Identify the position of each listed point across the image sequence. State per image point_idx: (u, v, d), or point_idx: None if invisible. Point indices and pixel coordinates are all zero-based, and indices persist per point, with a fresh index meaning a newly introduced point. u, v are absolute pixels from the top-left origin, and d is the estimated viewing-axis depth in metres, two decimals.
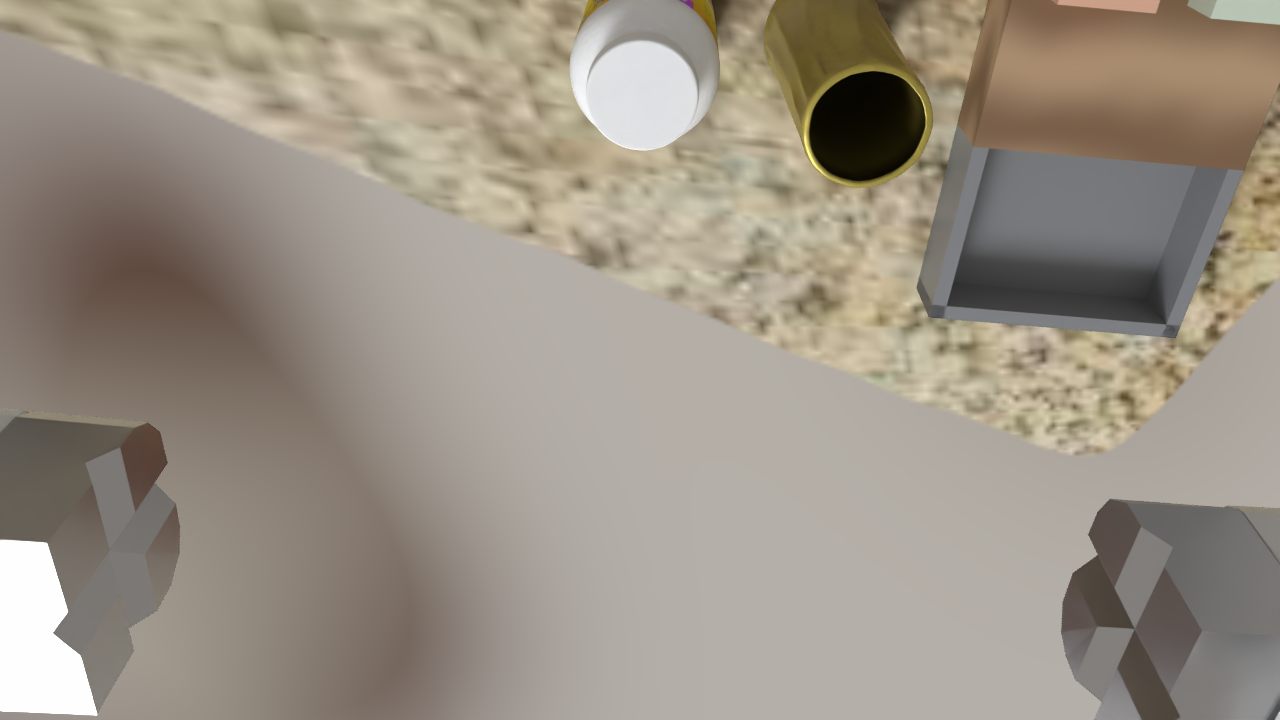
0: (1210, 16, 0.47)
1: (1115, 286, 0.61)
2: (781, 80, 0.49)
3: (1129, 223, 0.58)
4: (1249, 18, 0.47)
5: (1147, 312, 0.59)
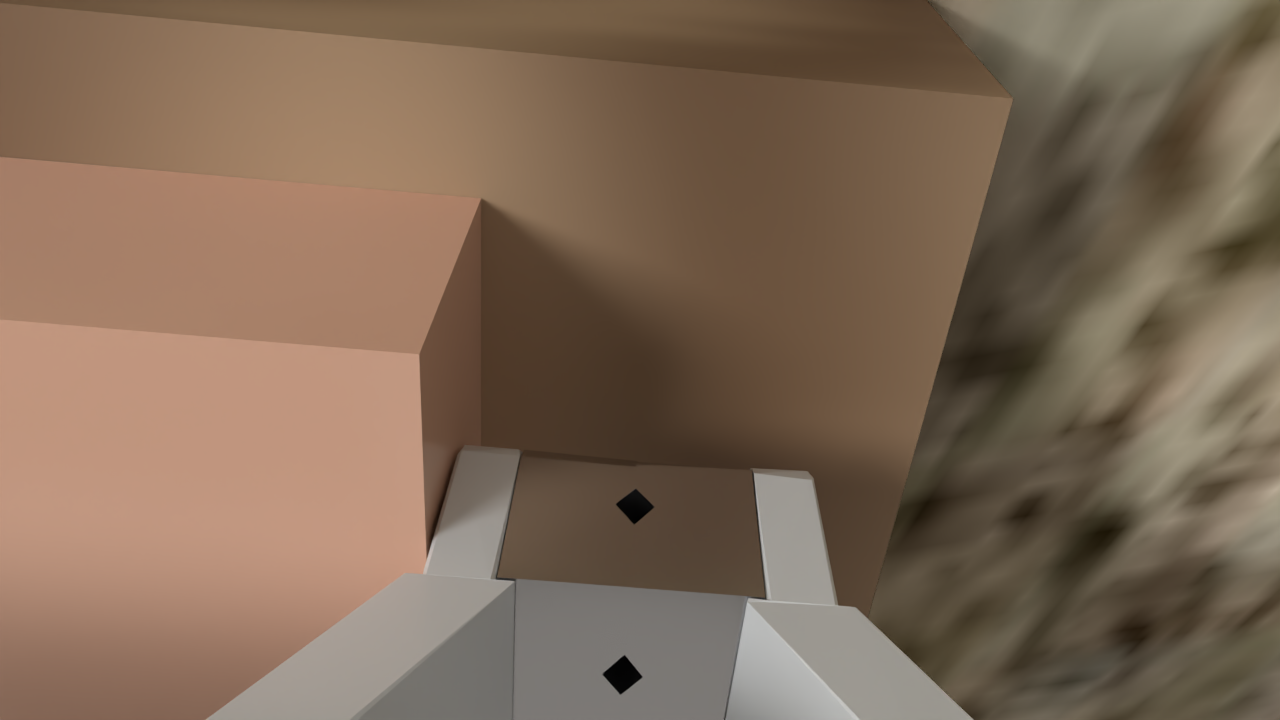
0: None
1: None
2: None
3: None
4: None
5: None
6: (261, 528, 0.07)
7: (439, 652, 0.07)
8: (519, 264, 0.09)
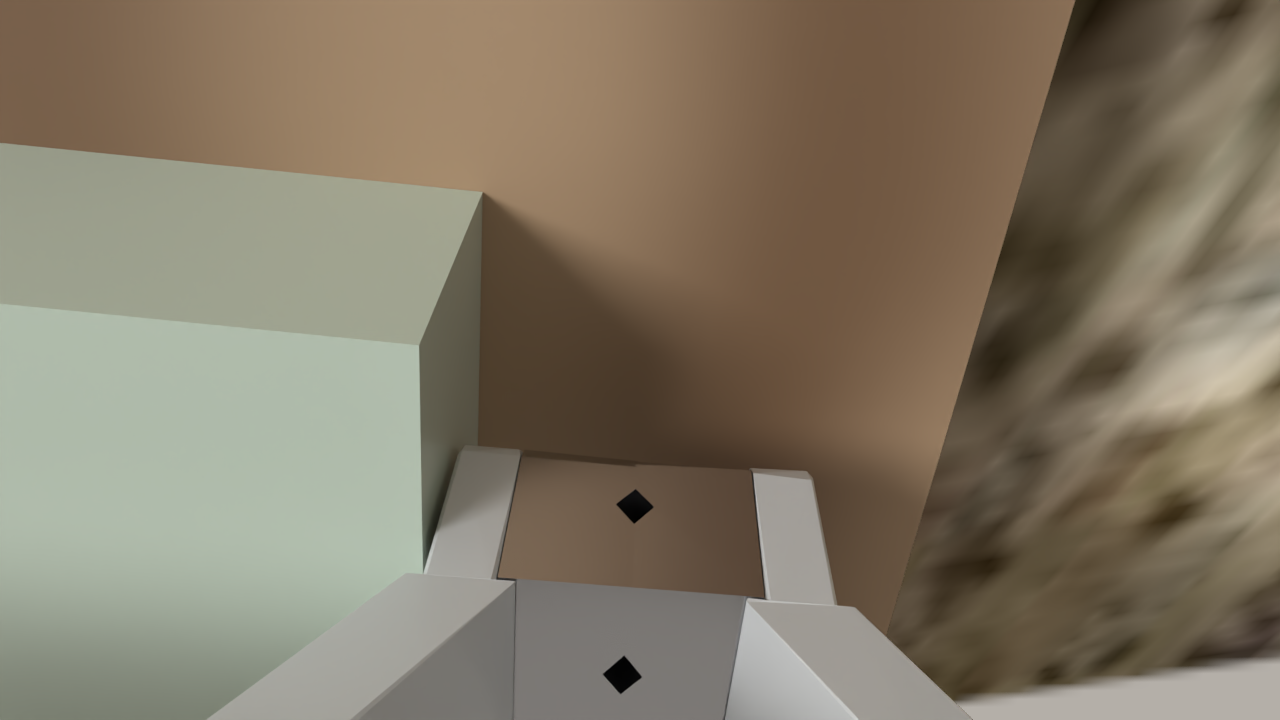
0: None
1: None
2: None
3: None
4: None
5: None
6: None
7: (439, 652, 0.07)
8: None
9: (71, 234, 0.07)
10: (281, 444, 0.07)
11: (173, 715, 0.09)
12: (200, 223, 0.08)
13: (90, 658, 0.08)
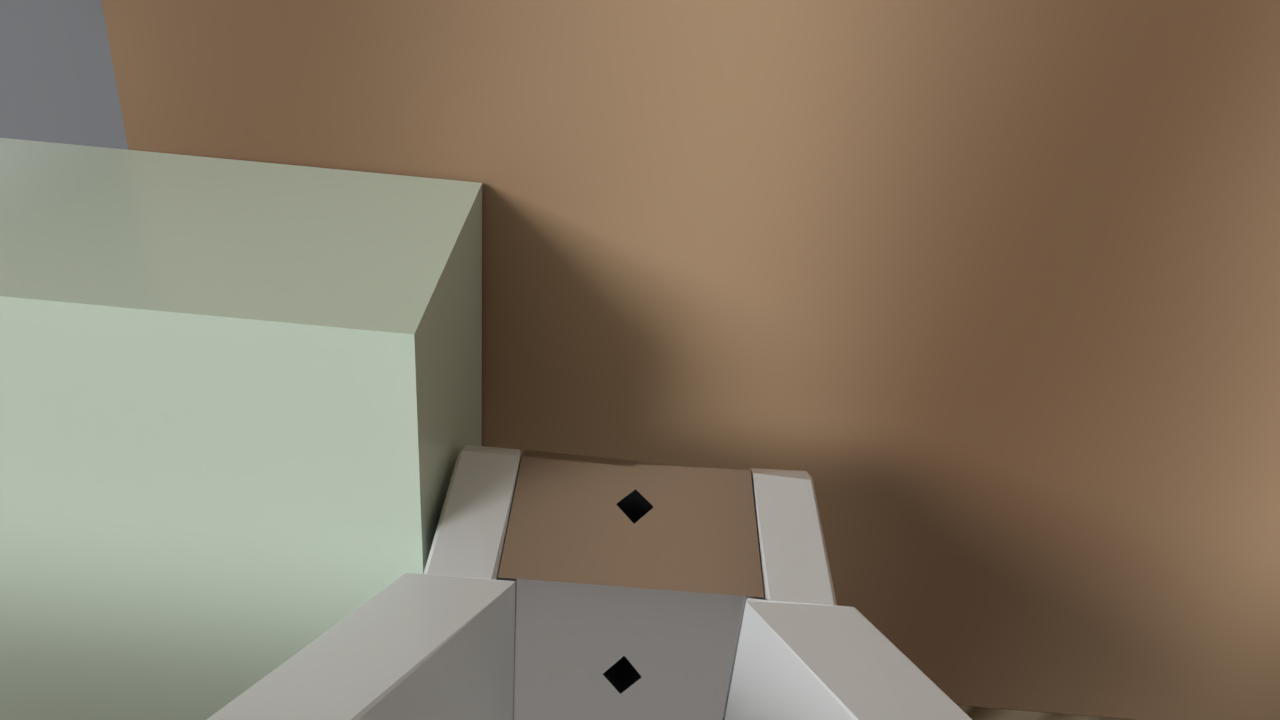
0: None
1: None
2: None
3: None
4: None
5: None
6: None
7: (440, 653, 0.07)
8: None
9: (71, 227, 0.07)
10: (280, 435, 0.07)
11: (178, 708, 0.09)
12: (199, 216, 0.08)
13: (94, 651, 0.08)
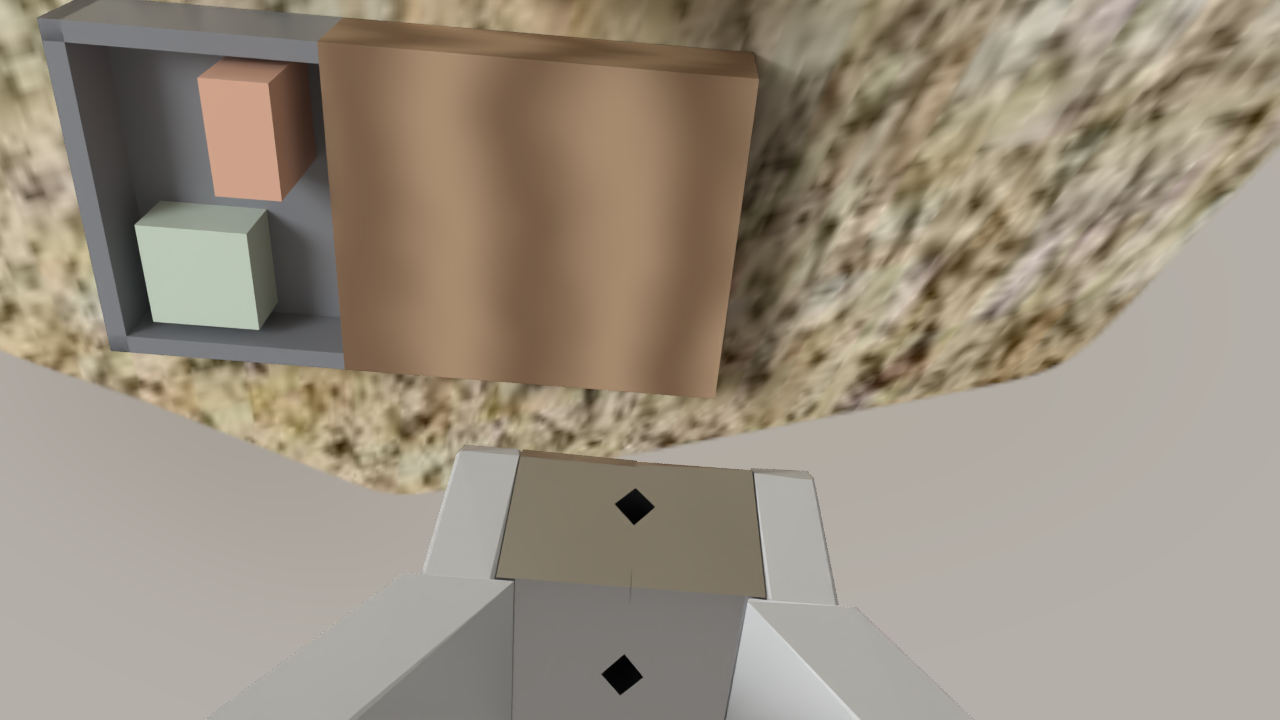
0: (264, 209, 0.44)
1: None
2: None
3: None
4: None
5: (137, 310, 0.45)
6: None
7: (438, 652, 0.07)
8: (650, 118, 0.39)
9: (214, 215, 0.43)
10: None
11: None
12: (192, 217, 0.43)
13: None
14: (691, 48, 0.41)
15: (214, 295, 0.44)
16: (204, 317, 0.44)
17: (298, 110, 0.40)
